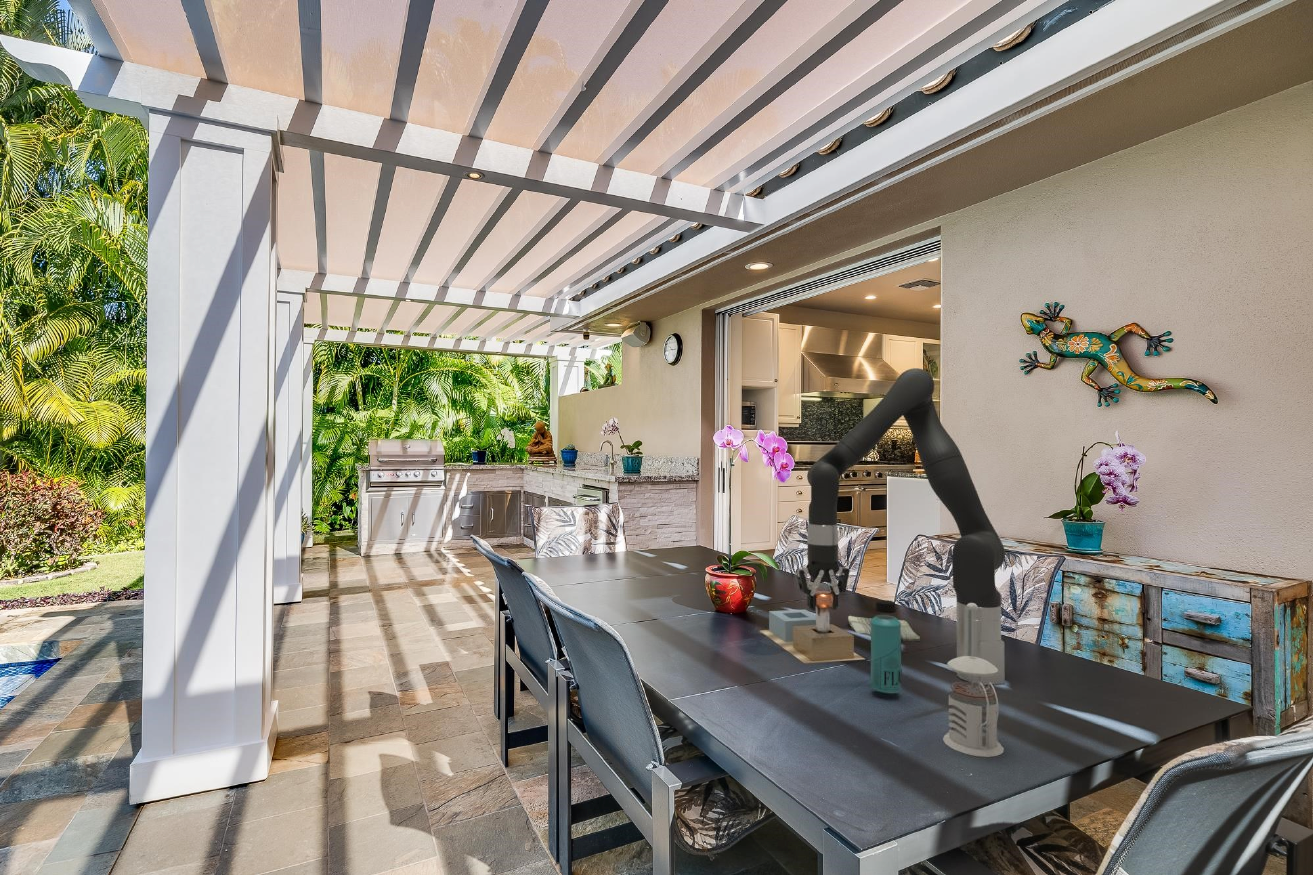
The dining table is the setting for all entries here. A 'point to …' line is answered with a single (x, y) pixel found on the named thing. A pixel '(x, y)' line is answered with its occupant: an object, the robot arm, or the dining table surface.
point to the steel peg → (823, 610)
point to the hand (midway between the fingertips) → (822, 609)
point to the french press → (973, 707)
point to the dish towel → (865, 627)
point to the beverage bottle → (886, 649)
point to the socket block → (789, 622)
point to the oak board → (804, 659)
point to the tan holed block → (823, 643)
